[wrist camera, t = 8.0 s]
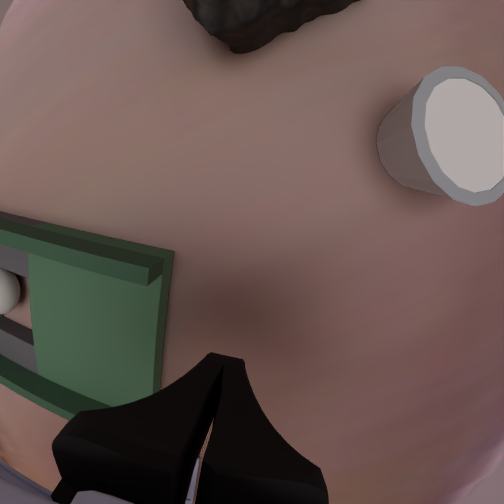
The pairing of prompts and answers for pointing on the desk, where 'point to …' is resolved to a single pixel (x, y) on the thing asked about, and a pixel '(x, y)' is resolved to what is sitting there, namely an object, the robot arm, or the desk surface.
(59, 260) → the putting green
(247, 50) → the owl
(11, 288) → the golf ball
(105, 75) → the desk surface
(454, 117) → the grey cup
